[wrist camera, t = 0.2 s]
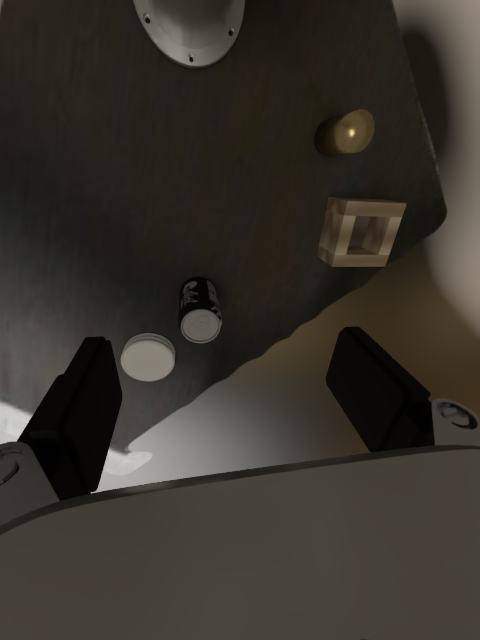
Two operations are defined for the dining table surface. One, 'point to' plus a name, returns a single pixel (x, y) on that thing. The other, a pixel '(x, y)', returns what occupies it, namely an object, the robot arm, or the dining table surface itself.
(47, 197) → the dining table surface
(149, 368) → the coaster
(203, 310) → the beverage can
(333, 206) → the frame
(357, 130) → the banded brass cylinder
